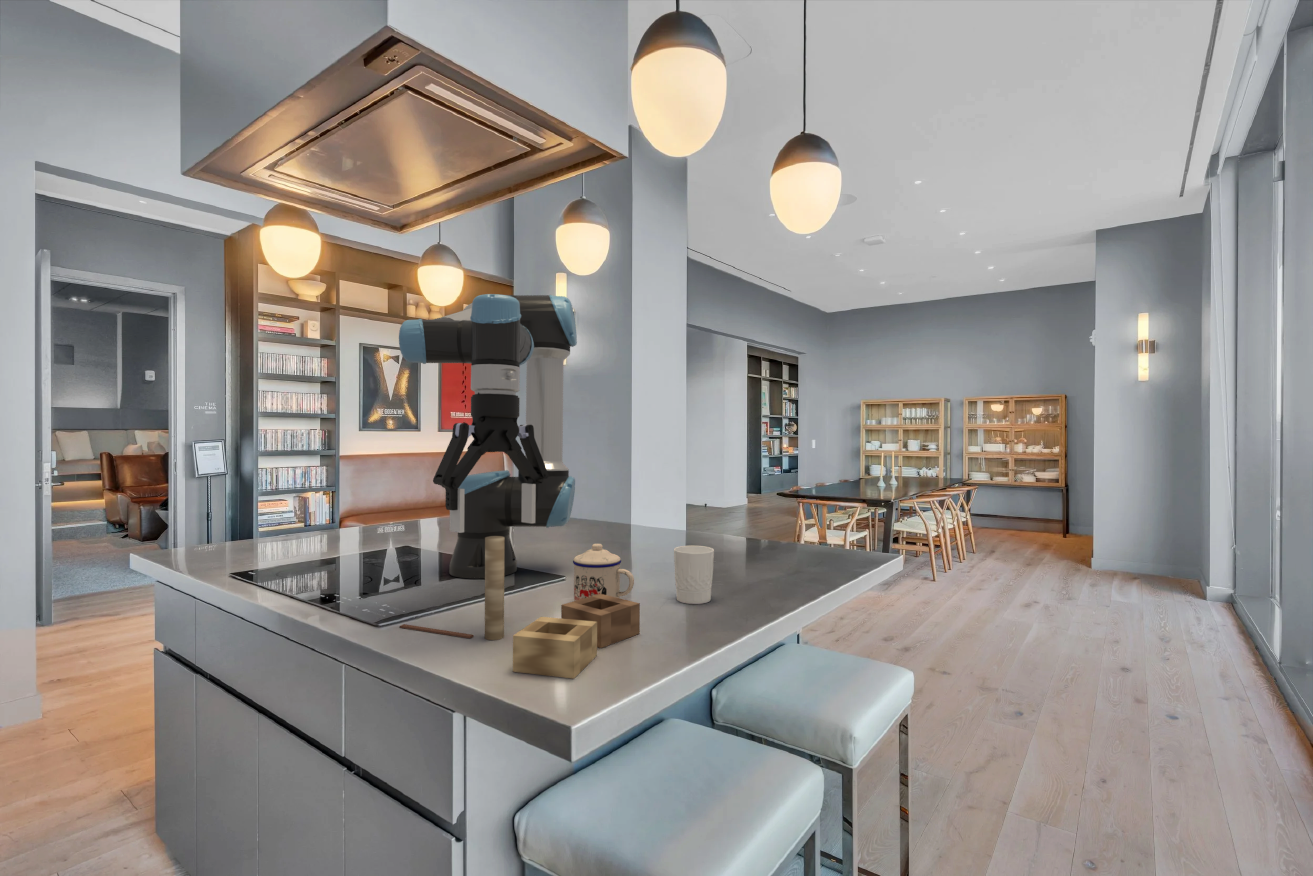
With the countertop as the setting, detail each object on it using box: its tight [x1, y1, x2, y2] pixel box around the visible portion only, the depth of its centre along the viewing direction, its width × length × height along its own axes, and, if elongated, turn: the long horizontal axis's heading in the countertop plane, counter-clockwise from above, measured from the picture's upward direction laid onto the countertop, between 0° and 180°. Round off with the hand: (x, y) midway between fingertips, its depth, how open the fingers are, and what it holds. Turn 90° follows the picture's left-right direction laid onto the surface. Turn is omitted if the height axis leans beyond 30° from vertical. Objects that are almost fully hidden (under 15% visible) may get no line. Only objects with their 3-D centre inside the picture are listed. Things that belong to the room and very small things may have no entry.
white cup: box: [673, 545, 715, 605], centre depth 123 cm, size 8×8×10 cm
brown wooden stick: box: [399, 623, 475, 639], centre depth 103 cm, size 14×1×1 cm, turn 69°
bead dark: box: [560, 594, 641, 649], centre depth 102 cm, size 9×9×5 cm
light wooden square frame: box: [512, 616, 598, 680], centre depth 89 cm, size 9×9×5 cm
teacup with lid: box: [572, 543, 635, 601], centre depth 118 cm, size 12×9×12 cm
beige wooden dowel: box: [484, 536, 505, 641], centre depth 100 cm, size 3×3×16 cm
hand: (494, 527), depth 100 cm, fingers open, 13 cm apart
